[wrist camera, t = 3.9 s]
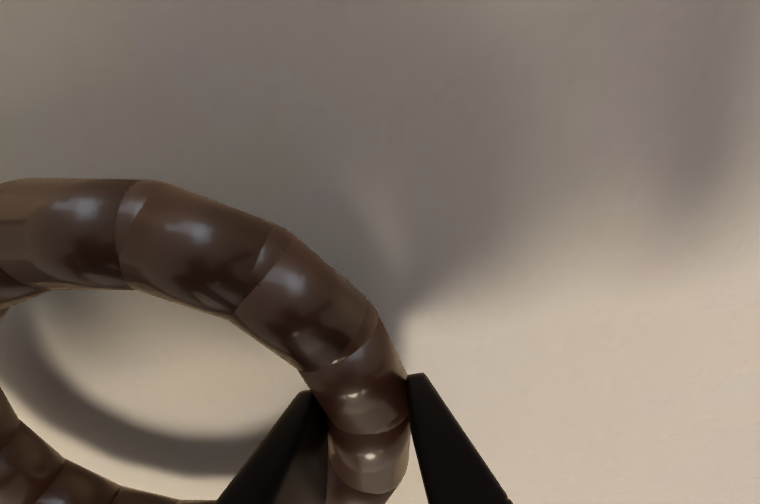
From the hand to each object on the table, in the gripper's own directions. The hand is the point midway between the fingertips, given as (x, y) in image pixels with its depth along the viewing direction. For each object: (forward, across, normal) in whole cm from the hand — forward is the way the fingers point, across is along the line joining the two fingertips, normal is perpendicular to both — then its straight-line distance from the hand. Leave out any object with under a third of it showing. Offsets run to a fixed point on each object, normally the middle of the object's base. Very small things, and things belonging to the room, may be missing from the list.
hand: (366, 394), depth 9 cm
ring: (0, +5, 0) cm, 5 cm away
